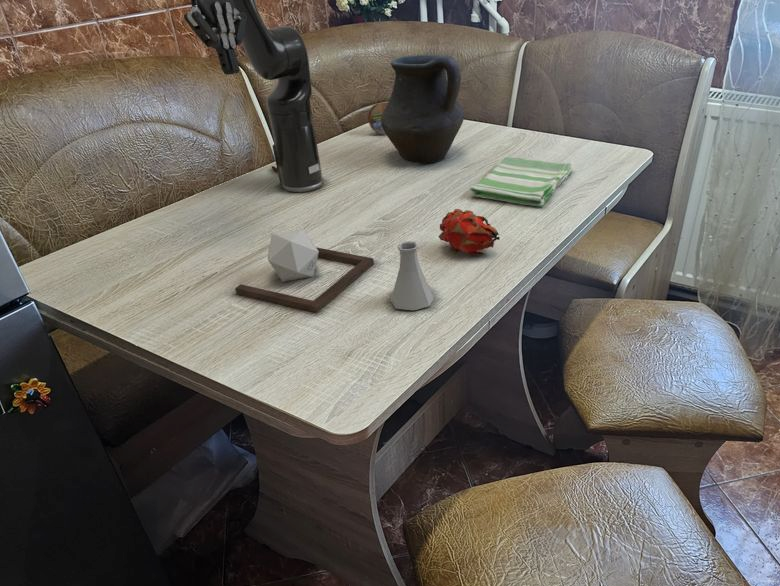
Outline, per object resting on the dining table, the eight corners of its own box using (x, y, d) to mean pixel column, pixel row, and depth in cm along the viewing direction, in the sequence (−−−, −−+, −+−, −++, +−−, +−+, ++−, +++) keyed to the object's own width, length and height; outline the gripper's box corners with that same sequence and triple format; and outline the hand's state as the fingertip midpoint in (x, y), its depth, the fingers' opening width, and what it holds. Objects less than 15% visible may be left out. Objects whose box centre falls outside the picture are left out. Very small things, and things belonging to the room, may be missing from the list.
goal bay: (236, 294, 107) (234, 288, 106) (299, 249, 120) (298, 243, 120) (317, 313, 102) (316, 306, 101) (374, 264, 115) (373, 258, 114)
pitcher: (420, 140, 173) (413, 41, 159) (485, 154, 163) (484, 49, 148) (368, 162, 160) (356, 55, 145) (436, 178, 149) (430, 65, 135)
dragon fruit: (438, 250, 122) (495, 269, 119) (423, 241, 114) (483, 262, 111) (453, 208, 122) (510, 226, 118) (439, 196, 113) (500, 216, 110)
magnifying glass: (372, 137, 177) (369, 105, 172) (368, 134, 179) (365, 103, 174) (421, 128, 183) (419, 98, 178) (416, 125, 185) (414, 95, 180)
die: (309, 294, 108) (330, 239, 107) (257, 275, 105) (278, 218, 104) (305, 287, 116) (324, 236, 115) (257, 270, 113) (276, 217, 112)
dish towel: (573, 172, 150) (574, 161, 149) (543, 209, 133) (544, 197, 132) (503, 163, 156) (503, 152, 155) (466, 198, 139) (465, 186, 138)
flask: (390, 290, 107) (385, 236, 101) (433, 288, 107) (430, 234, 101) (390, 313, 101) (384, 257, 95) (435, 310, 101) (431, 254, 96)
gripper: (212, -35, 108) (240, 74, 115) (151, -42, 97) (187, 79, 104) (246, -44, 105) (273, 68, 112) (187, -52, 94) (221, 73, 101)
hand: (231, 73), depth 108 cm, fingers closed
